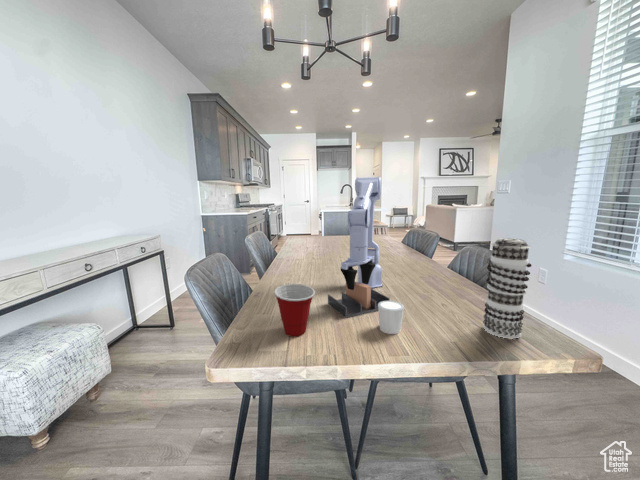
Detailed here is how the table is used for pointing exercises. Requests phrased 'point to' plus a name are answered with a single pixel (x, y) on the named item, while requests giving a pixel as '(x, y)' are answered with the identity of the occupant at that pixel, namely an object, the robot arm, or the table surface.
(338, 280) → the table surface
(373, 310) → the rack
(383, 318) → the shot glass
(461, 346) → the table surface
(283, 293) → the plastic cup
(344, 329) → the table surface
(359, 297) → the upright salmon slab
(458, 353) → the table surface
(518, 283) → the decorative candle
